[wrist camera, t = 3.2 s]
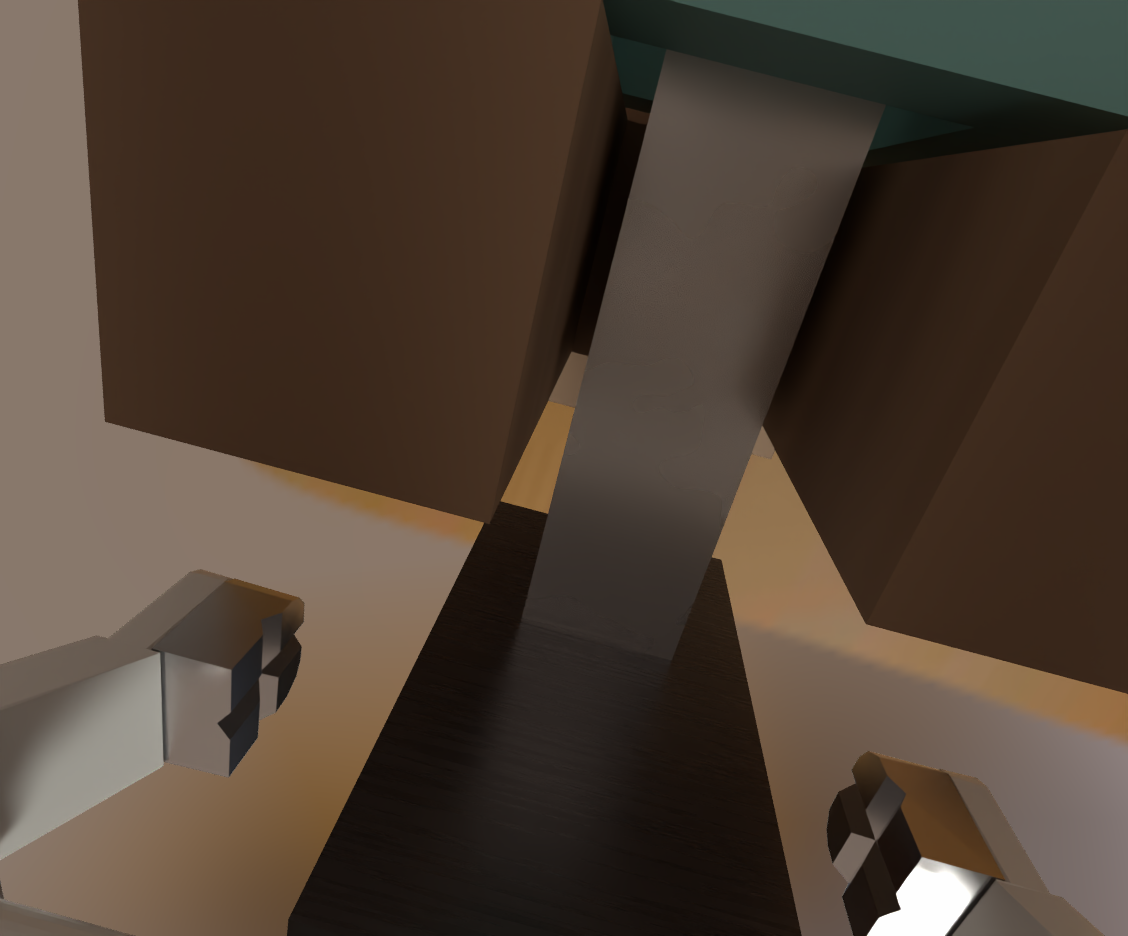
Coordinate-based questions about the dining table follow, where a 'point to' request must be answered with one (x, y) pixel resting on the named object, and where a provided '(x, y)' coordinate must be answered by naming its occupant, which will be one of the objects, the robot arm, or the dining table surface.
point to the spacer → (906, 62)
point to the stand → (600, 297)
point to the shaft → (618, 581)
